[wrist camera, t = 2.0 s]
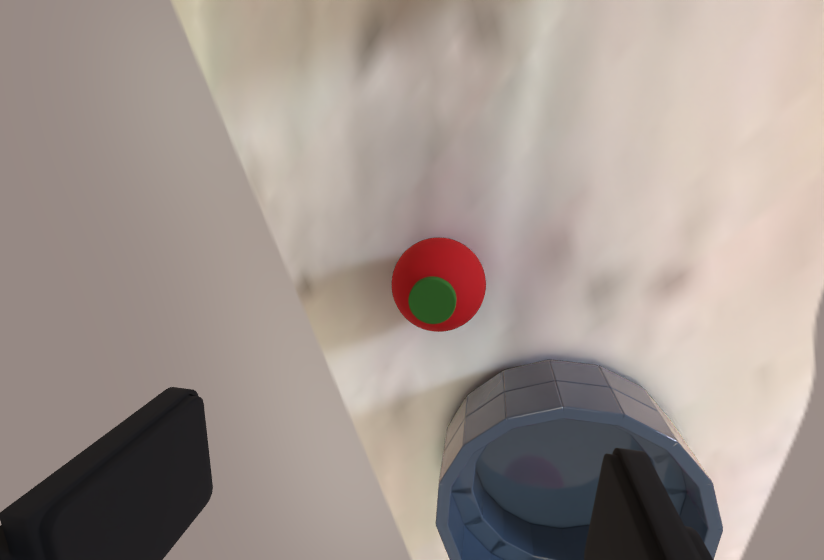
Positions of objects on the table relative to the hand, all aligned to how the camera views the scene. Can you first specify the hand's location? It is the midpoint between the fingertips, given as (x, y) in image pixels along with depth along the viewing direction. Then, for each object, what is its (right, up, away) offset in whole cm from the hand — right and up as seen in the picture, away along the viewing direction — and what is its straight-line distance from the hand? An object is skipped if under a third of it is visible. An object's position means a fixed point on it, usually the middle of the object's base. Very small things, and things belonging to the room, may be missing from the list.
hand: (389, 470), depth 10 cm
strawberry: (+2, +5, +13) cm, 14 cm away
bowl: (+9, -5, +15) cm, 18 cm away
